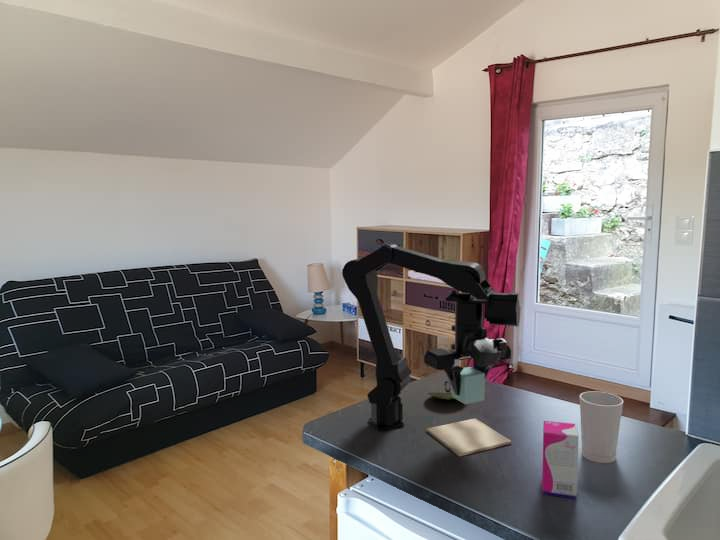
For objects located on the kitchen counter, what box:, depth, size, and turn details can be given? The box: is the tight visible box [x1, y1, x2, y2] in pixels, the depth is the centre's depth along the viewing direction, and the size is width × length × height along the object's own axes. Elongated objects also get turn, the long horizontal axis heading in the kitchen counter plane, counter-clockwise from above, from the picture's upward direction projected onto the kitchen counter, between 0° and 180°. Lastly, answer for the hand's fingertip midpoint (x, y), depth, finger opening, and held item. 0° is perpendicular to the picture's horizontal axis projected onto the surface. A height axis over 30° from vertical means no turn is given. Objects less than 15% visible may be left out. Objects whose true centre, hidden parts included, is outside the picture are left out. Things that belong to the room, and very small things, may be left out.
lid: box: [427, 380, 456, 401], centre depth 137 cm, size 11×10×5 cm
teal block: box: [451, 366, 486, 405], centre depth 115 cm, size 5×5×6 cm
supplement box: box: [541, 420, 579, 500], centre depth 95 cm, size 6×6×12 cm
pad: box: [426, 417, 512, 457], centre depth 117 cm, size 13×13×1 cm
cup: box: [579, 390, 624, 464], centre depth 107 cm, size 8×8×12 cm
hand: (467, 392), depth 115 cm, fingers closed on teal block, 5 cm apart
